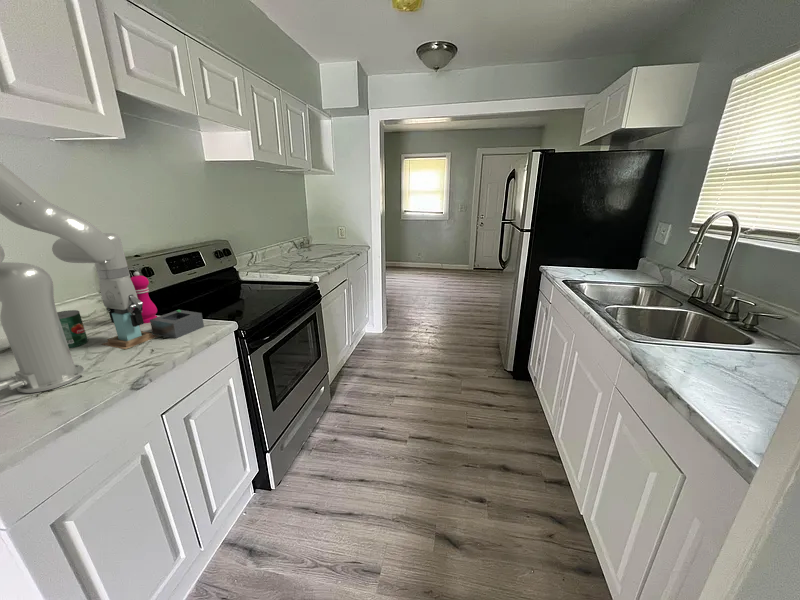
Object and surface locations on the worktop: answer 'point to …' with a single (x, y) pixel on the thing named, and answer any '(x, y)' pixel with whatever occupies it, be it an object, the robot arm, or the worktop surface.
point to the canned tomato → (72, 328)
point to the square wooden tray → (127, 344)
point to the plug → (125, 325)
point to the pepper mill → (144, 297)
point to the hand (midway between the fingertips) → (128, 323)
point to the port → (177, 323)
